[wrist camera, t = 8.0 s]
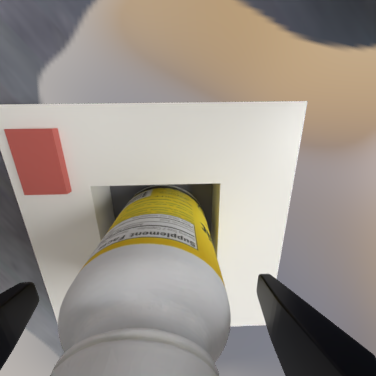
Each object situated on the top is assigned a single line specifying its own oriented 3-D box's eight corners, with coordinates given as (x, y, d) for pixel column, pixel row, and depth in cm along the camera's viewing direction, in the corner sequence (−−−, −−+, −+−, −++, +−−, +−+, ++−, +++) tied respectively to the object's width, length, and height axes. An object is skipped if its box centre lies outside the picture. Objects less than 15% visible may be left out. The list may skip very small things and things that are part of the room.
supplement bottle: (197, 258, 14) (229, 547, 4) (121, 248, 13) (-27, 548, 4) (213, 188, 12) (326, 416, 3) (128, 175, 11) (-111, 390, 2)
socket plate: (279, 106, 11) (313, 100, 8) (254, 293, 15) (271, 331, 12) (30, 109, 10) (-25, 103, 8) (80, 300, 15) (57, 340, 12)
